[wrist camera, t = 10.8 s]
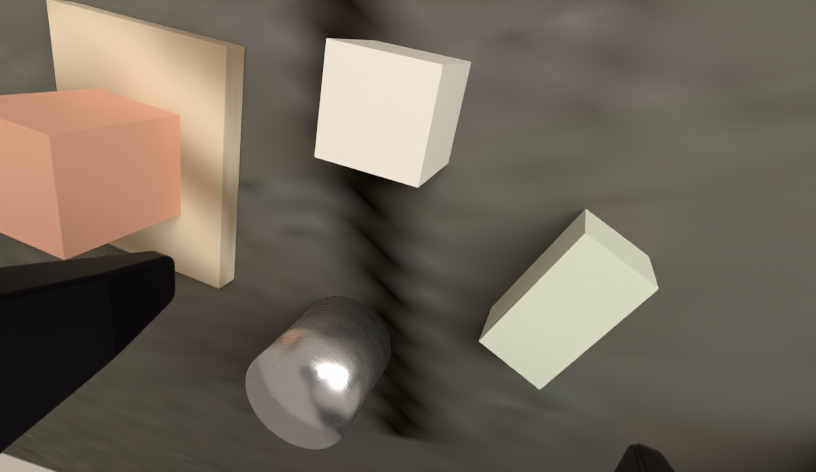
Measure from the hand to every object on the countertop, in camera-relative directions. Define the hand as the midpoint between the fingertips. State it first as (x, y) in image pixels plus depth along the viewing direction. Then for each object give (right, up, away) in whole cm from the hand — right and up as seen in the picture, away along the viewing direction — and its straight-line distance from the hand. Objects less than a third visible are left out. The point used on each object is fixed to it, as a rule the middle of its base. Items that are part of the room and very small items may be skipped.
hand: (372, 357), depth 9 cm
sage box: (+7, 0, +11) cm, 13 cm away
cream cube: (+1, +8, +11) cm, 13 cm away
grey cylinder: (-3, -3, +16) cm, 17 cm away
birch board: (-12, +7, +16) cm, 21 cm away
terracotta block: (-13, +6, +15) cm, 20 cm away
